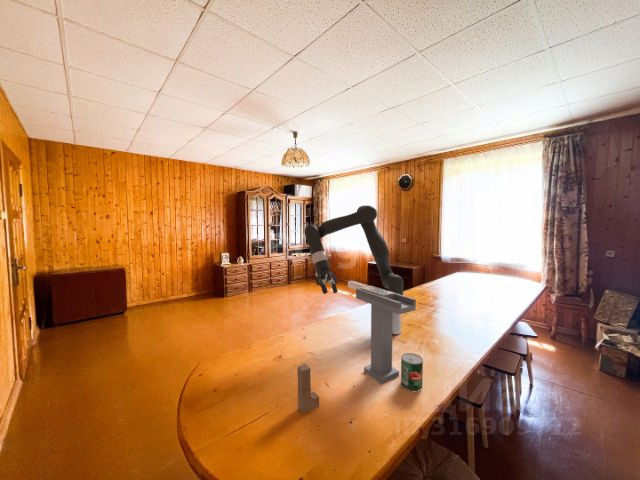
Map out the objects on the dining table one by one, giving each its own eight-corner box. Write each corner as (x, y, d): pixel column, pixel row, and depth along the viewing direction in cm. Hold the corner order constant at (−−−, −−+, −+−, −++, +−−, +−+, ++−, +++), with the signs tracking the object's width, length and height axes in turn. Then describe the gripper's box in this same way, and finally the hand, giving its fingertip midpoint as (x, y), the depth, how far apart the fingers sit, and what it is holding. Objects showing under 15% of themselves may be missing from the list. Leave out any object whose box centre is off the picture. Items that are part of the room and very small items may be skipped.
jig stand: (355, 365, 116) (355, 288, 113) (372, 358, 121) (372, 285, 119) (396, 395, 95) (398, 303, 93) (415, 386, 100) (416, 298, 98)
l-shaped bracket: (302, 414, 86) (302, 370, 85) (297, 408, 89) (297, 366, 88) (319, 406, 90) (318, 364, 89) (314, 401, 93) (313, 360, 91)
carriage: (344, 287, 123) (344, 281, 123) (354, 286, 126) (354, 280, 126) (383, 301, 102) (383, 293, 102) (394, 299, 105) (394, 291, 105)
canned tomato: (405, 376, 107) (405, 350, 106) (425, 384, 102) (425, 357, 101) (397, 386, 100) (397, 358, 100) (418, 395, 95) (418, 366, 95)
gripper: (317, 258, 123) (328, 291, 118) (334, 259, 135) (344, 289, 129) (306, 264, 127) (316, 296, 121) (323, 265, 138) (333, 295, 133)
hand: (330, 293), depth 125 cm, fingers open, 8 cm apart
